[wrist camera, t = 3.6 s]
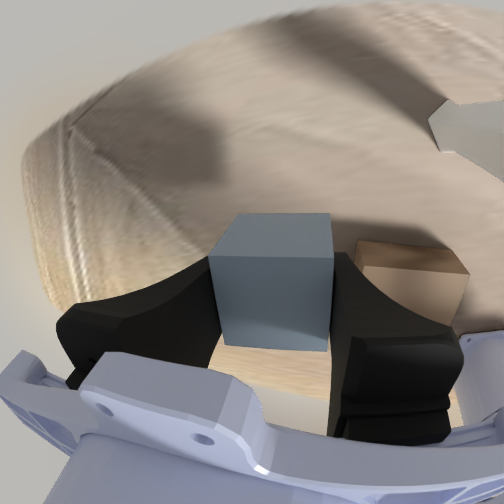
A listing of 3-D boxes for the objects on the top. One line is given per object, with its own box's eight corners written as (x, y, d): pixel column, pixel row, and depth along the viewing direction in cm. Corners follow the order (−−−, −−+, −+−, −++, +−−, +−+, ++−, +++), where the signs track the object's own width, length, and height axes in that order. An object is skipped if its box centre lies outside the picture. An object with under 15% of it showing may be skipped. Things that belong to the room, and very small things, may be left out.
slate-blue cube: (330, 213, 12) (333, 257, 9) (327, 292, 14) (326, 351, 10) (238, 214, 13) (207, 255, 10) (247, 289, 15) (224, 344, 11)
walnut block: (450, 248, 19) (470, 274, 16) (423, 327, 23) (433, 358, 19) (357, 238, 21) (364, 265, 17) (341, 323, 24) (342, 356, 21)
